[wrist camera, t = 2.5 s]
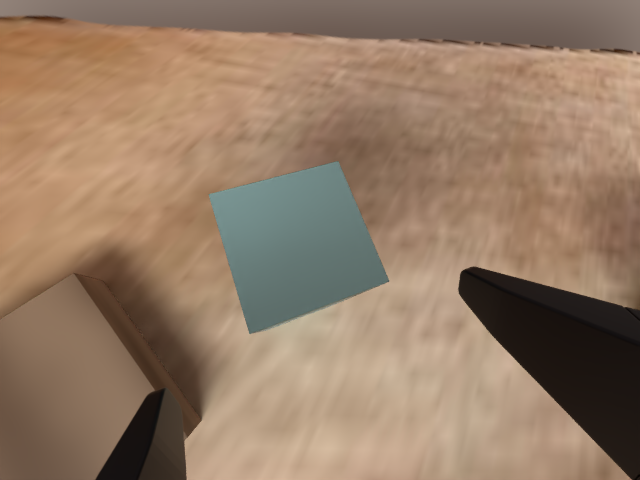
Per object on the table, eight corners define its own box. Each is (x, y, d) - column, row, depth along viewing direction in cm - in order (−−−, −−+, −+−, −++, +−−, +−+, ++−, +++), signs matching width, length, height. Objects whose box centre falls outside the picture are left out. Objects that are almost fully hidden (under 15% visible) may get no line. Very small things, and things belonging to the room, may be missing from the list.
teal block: (309, 241, 20) (338, 160, 10) (333, 304, 19) (389, 281, 9) (244, 262, 19) (208, 194, 9) (265, 330, 18) (249, 333, 8)
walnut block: (106, 281, 18) (73, 273, 15) (203, 417, 16) (187, 437, 13) (-82, 406, 15) (-170, 425, 12) (17, 584, 13) (-55, 655, 10)
